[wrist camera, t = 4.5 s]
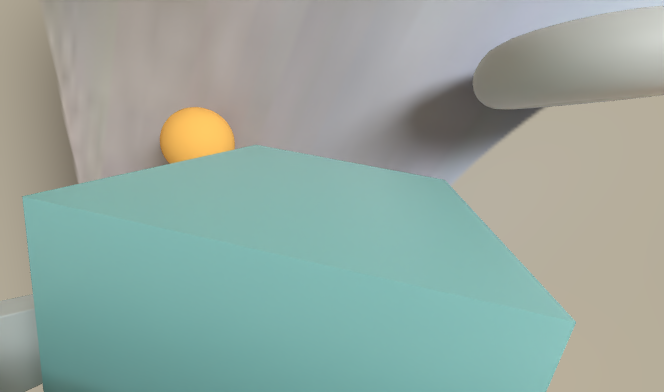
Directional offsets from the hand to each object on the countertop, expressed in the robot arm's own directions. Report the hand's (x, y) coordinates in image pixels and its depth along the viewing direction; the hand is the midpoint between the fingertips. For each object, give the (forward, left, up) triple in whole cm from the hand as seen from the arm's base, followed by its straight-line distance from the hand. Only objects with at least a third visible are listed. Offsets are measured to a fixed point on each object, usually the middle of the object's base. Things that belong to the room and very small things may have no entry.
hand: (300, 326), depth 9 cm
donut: (-10, +10, -17) cm, 22 cm away
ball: (-2, -12, -14) cm, 18 cm away
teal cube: (0, 0, -5) cm, 5 cm away
